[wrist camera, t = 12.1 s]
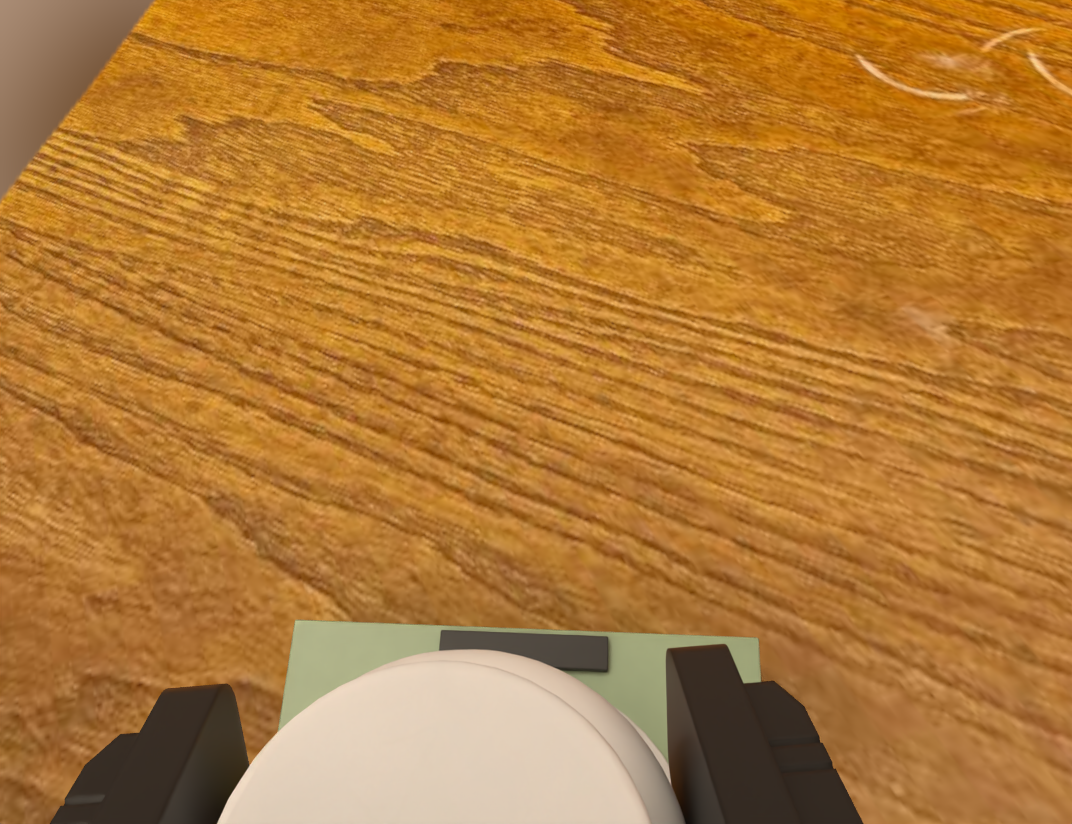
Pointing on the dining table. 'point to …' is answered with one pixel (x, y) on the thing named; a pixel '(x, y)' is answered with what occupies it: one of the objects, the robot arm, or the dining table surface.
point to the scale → (590, 656)
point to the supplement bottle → (456, 752)
